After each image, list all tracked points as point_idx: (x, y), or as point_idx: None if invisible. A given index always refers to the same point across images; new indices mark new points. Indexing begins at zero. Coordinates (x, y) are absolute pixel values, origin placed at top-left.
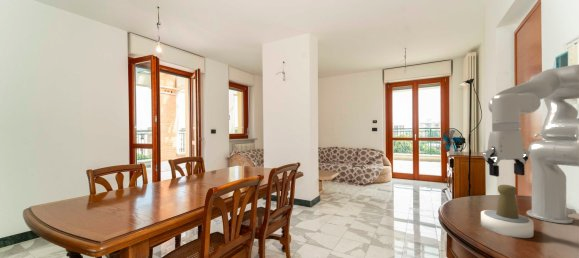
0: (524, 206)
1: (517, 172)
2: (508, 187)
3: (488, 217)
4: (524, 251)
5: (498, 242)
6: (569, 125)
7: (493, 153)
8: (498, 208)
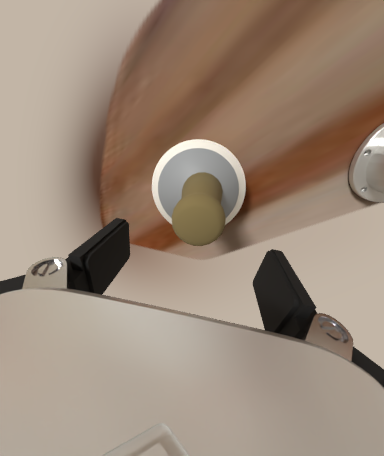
0: None
1: (264, 271)
2: (181, 239)
3: (152, 186)
4: (143, 244)
5: (132, 219)
6: None
7: (11, 386)
8: (183, 189)
